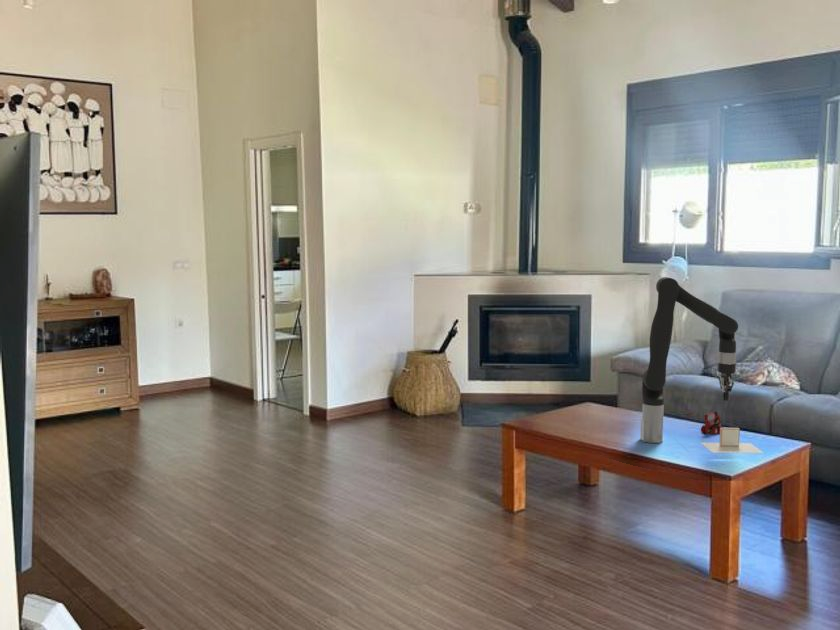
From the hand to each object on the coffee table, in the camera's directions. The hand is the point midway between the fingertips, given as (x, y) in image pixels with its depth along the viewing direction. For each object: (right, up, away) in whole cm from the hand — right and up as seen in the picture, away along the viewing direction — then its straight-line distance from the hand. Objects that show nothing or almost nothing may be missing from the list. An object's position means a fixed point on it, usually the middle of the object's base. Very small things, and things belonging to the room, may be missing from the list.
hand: (725, 400), depth 353 cm
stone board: (0, -21, -8) cm, 22 cm away
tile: (0, -20, -5) cm, 20 cm away
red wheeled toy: (+2, -18, +20) cm, 27 cm away
